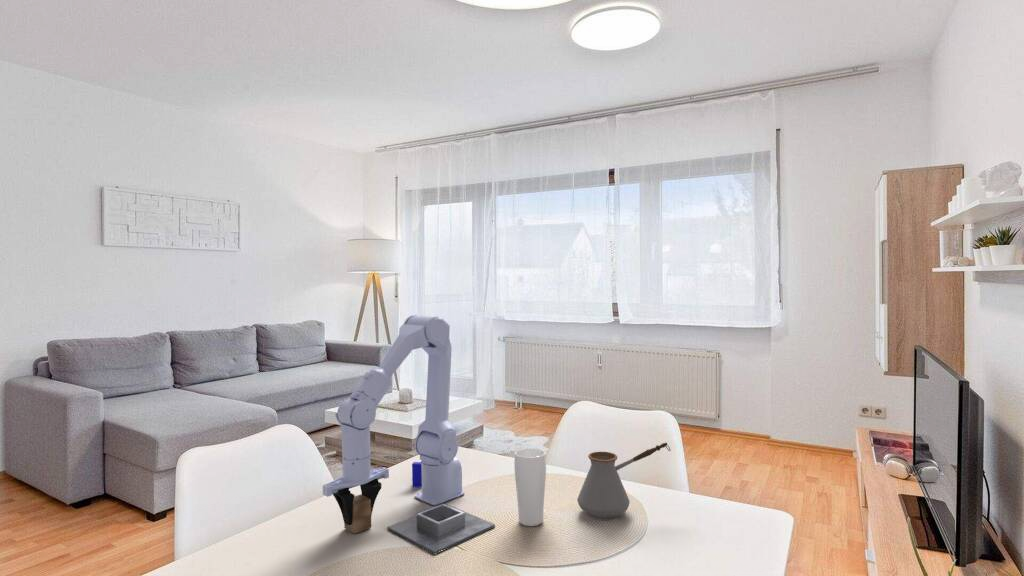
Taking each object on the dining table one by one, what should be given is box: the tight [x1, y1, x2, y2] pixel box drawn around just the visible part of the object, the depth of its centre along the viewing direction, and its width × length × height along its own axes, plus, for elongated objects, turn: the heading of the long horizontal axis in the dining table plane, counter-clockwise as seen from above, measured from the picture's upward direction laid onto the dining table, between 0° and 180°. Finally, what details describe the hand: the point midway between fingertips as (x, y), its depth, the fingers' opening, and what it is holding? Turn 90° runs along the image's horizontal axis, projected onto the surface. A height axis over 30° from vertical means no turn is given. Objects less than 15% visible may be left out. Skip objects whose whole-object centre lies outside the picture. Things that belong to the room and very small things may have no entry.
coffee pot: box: [576, 442, 671, 521], centre depth 124 cm, size 21×12×15 cm, turn 98°
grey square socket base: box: [386, 503, 496, 555], centre depth 117 cm, size 16×16×3 cm
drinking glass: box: [514, 447, 547, 527], centre depth 119 cm, size 7×7×15 cm
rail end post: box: [343, 493, 372, 534], centre depth 117 cm, size 4×4×6 cm
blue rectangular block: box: [411, 461, 422, 488], centre depth 147 cm, size 12×4×6 cm, turn 170°
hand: (357, 519), depth 117 cm, fingers closed on rail end post, 4 cm apart
